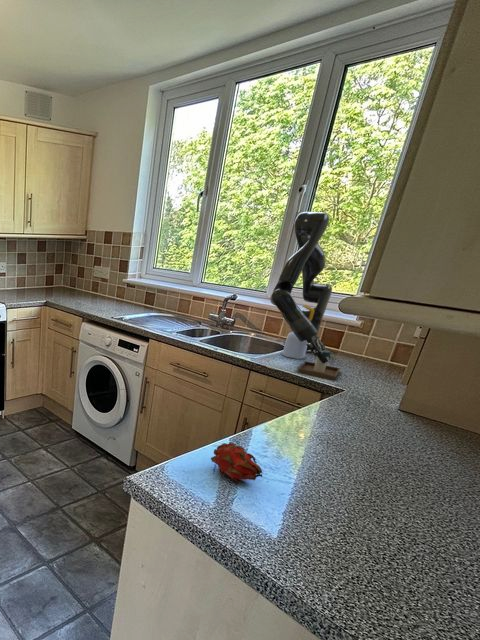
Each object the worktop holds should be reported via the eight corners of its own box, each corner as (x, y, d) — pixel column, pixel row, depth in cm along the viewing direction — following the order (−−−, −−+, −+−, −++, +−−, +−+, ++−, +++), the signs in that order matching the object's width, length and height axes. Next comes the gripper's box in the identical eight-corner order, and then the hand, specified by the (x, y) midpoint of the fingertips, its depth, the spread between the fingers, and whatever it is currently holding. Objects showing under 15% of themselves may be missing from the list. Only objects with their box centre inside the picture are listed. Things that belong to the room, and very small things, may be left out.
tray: (303, 364, 185) (305, 361, 184) (338, 371, 177) (340, 368, 176) (297, 372, 174) (298, 368, 173) (334, 380, 166) (335, 376, 165)
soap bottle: (286, 352, 203) (300, 303, 194) (306, 357, 196) (322, 306, 187) (279, 355, 197) (293, 304, 188) (299, 360, 191) (315, 308, 182)
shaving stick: (313, 368, 178) (319, 349, 175) (325, 371, 175) (331, 351, 172) (312, 370, 175) (318, 350, 172) (323, 373, 172) (330, 353, 169)
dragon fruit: (208, 466, 104) (251, 497, 95) (197, 458, 98) (243, 490, 89) (228, 440, 103) (274, 469, 95) (219, 430, 97) (267, 460, 89)
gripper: (309, 325, 167) (334, 359, 165) (314, 321, 178) (338, 352, 175) (290, 335, 173) (315, 368, 170) (297, 330, 183) (320, 361, 180)
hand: (326, 360), depth 172 cm, fingers open, 6 cm apart
